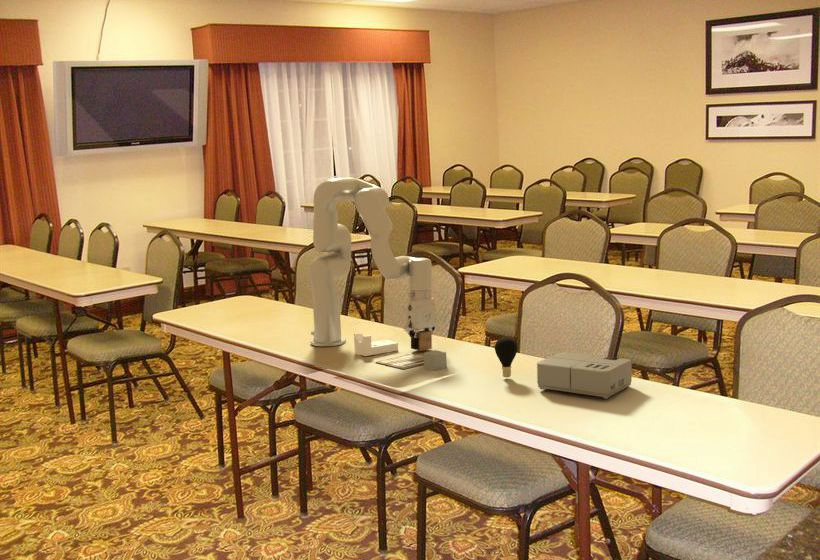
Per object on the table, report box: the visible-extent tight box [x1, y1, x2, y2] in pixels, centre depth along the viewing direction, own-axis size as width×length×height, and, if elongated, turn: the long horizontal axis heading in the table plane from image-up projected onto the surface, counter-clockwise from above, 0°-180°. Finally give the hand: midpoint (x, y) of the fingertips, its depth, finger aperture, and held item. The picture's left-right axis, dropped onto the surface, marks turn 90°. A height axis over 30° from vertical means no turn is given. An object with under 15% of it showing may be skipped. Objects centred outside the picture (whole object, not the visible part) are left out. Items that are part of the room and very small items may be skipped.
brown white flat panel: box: [375, 353, 424, 371], centre depth 282 cm, size 14×16×1 cm
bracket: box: [353, 332, 399, 357], centre depth 296 cm, size 13×7×8 cm, turn 123°
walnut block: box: [410, 329, 433, 352], centre depth 294 cm, size 5×5×6 cm
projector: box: [536, 351, 633, 400], centre depth 243 cm, size 17×22×8 cm
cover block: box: [423, 349, 448, 371], centre depth 272 cm, size 5×5×5 cm
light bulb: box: [494, 336, 518, 378], centre depth 256 cm, size 7×7×12 cm
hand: (421, 346), depth 294 cm, fingers closed on walnut block, 4 cm apart
